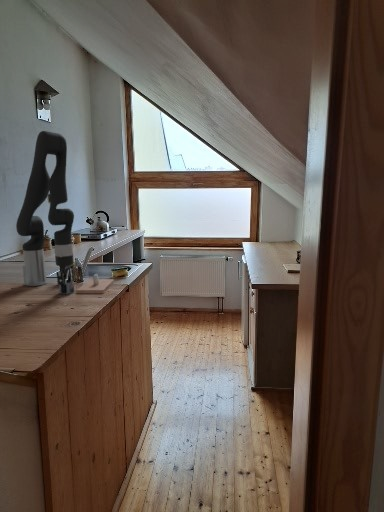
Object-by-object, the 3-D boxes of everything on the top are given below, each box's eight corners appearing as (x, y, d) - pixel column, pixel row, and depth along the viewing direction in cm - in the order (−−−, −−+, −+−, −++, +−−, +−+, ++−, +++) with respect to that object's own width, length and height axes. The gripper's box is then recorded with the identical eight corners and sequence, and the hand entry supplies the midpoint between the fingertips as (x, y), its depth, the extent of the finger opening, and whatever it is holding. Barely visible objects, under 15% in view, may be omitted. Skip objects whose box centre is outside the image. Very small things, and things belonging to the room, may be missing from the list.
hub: (57, 294, 159) (56, 283, 158) (63, 290, 165) (62, 280, 164) (71, 294, 159) (70, 283, 158) (76, 290, 164) (75, 279, 164)
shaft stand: (76, 293, 160) (75, 279, 159) (90, 282, 179) (89, 269, 177) (103, 293, 160) (102, 279, 158) (114, 282, 178) (113, 269, 177)
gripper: (62, 251, 166) (64, 286, 169) (48, 257, 151) (52, 295, 155) (78, 251, 165) (80, 286, 168) (66, 257, 151) (69, 295, 154)
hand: (66, 290), depth 161 cm, fingers closed on hub, 6 cm apart
